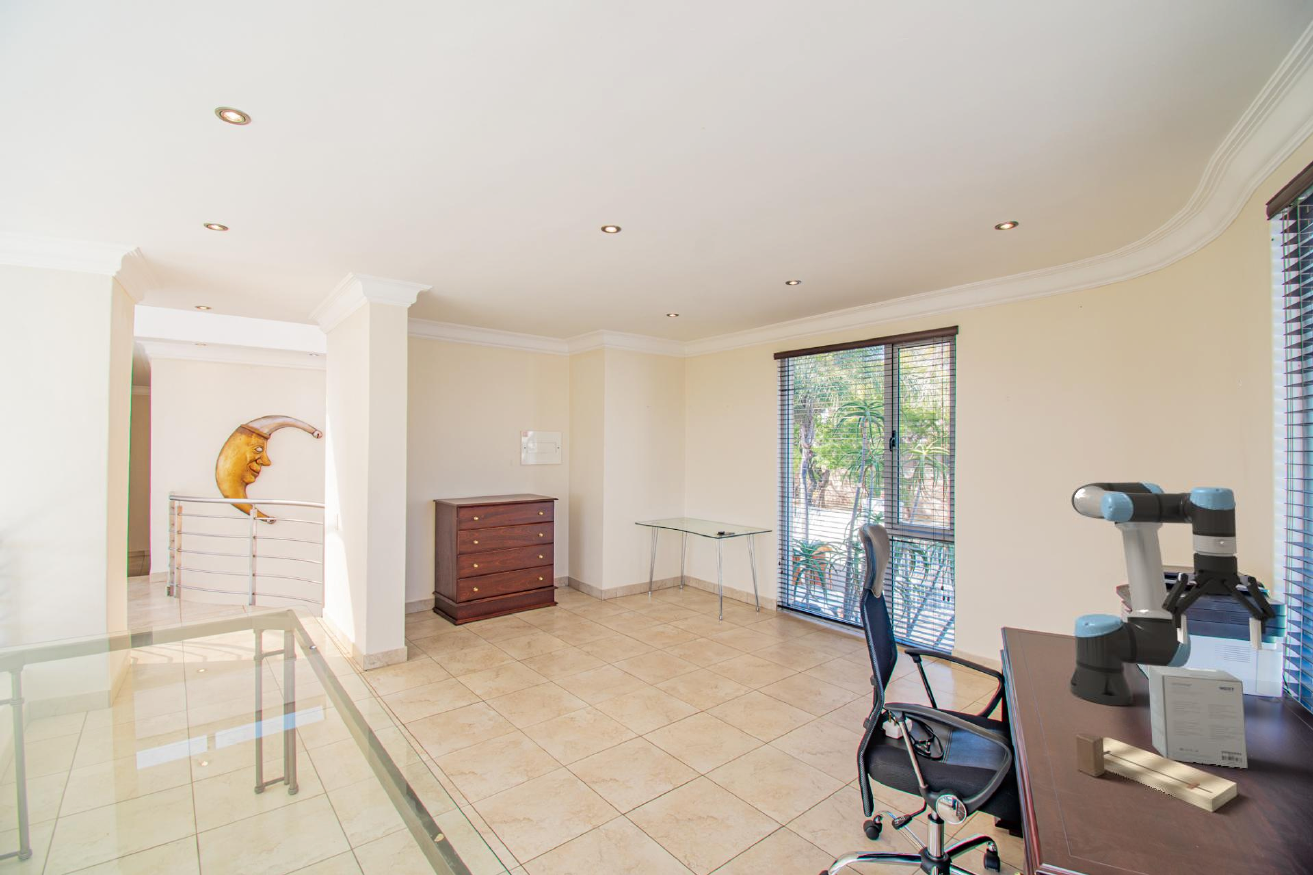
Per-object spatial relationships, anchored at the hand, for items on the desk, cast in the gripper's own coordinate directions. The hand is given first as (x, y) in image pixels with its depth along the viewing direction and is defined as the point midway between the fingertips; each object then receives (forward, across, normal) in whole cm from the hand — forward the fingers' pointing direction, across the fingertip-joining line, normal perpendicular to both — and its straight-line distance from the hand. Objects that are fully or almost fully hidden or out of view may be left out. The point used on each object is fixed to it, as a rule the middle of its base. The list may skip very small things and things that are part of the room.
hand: (1218, 645), depth 139 cm
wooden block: (+28, -30, -13) cm, 43 cm away
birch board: (+27, -17, -11) cm, 34 cm away
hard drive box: (+28, -4, +2) cm, 28 cm away
